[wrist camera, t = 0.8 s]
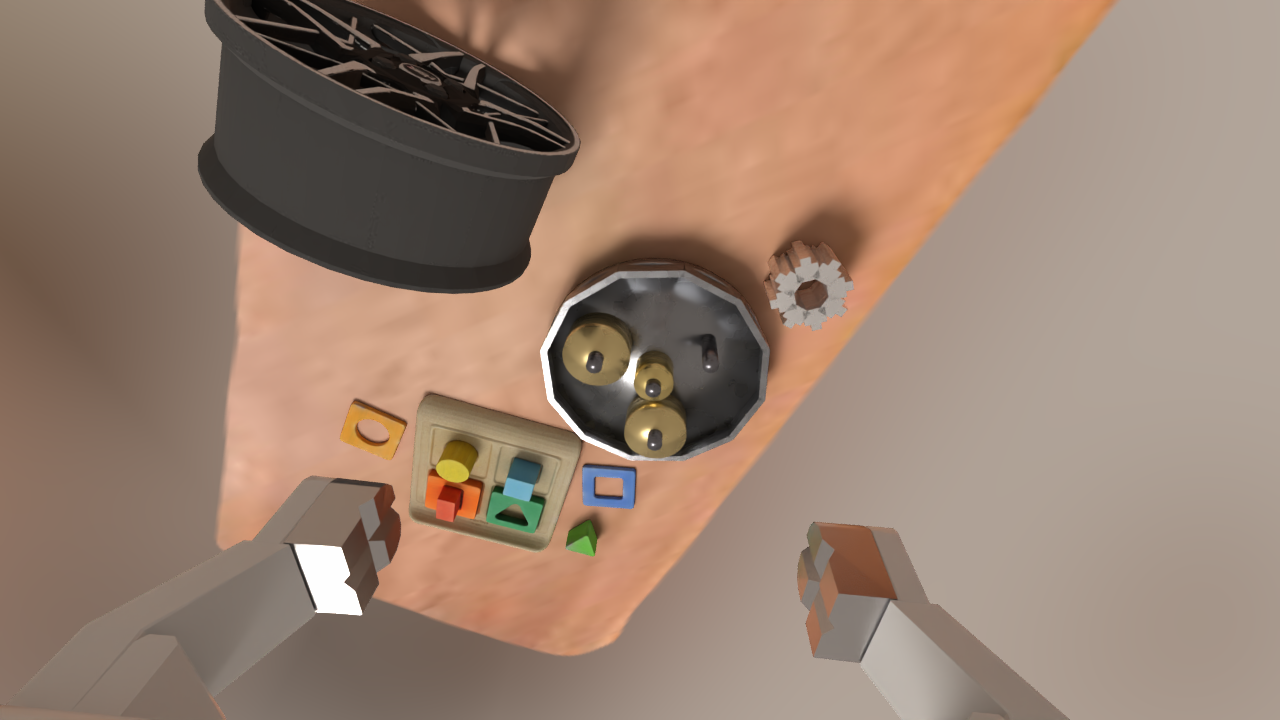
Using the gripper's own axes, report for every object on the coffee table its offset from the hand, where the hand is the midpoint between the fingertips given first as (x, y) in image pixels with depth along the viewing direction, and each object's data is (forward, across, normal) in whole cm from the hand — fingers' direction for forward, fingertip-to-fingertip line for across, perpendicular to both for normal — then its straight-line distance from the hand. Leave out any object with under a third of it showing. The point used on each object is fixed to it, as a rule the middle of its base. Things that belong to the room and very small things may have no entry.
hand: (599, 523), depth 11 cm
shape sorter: (+40, +16, +36) cm, 56 cm away
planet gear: (+38, -13, +9) cm, 41 cm away
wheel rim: (+38, +16, -2) cm, 42 cm away
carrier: (+38, -1, +19) cm, 43 cm away
